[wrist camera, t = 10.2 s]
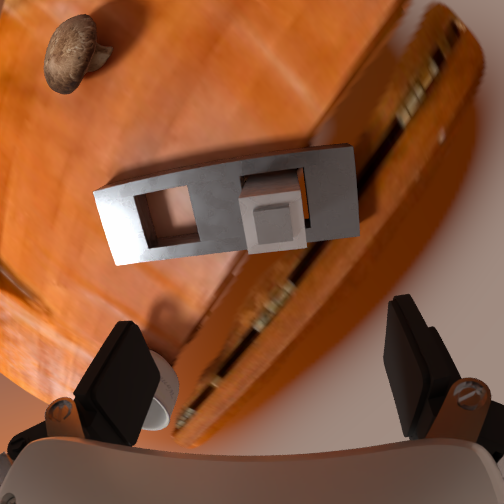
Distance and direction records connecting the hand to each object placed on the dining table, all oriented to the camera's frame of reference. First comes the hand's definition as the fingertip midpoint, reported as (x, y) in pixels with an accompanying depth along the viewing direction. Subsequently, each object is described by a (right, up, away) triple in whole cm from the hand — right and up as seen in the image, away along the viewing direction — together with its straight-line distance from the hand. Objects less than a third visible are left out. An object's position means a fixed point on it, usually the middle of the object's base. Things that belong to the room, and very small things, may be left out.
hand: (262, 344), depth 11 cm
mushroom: (-17, +23, +13) cm, 31 cm away
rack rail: (-3, +8, +19) cm, 21 cm away
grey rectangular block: (+2, +9, +18) cm, 20 cm away
